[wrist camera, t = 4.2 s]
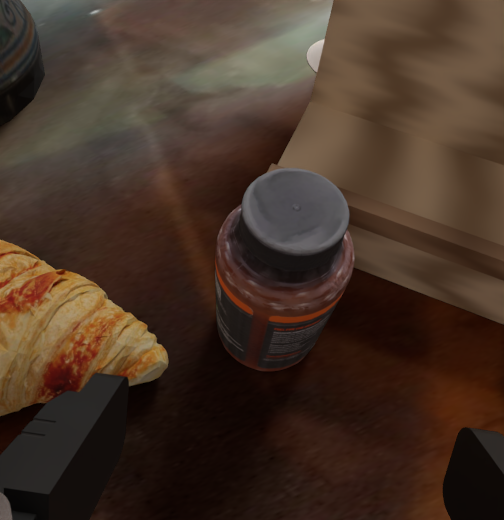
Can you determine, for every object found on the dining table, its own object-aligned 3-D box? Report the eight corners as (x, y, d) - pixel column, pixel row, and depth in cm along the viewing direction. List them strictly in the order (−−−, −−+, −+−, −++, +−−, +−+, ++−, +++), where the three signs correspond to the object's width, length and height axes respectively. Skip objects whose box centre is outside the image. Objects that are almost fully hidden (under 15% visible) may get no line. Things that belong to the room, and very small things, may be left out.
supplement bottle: (336, 326, 25) (412, 214, 15) (266, 397, 23) (304, 317, 13) (265, 262, 27) (293, 125, 17) (194, 321, 24) (179, 201, 15)
